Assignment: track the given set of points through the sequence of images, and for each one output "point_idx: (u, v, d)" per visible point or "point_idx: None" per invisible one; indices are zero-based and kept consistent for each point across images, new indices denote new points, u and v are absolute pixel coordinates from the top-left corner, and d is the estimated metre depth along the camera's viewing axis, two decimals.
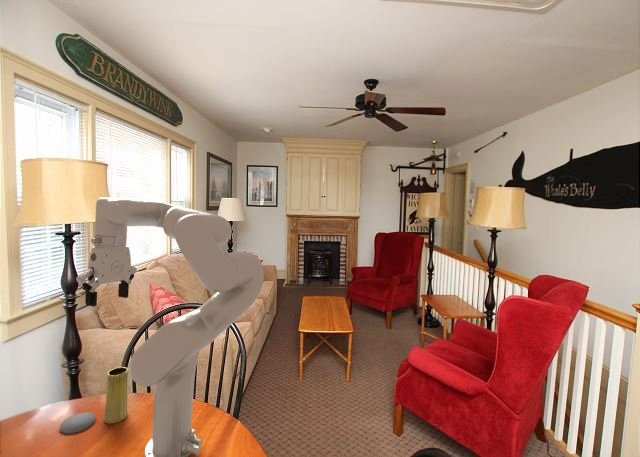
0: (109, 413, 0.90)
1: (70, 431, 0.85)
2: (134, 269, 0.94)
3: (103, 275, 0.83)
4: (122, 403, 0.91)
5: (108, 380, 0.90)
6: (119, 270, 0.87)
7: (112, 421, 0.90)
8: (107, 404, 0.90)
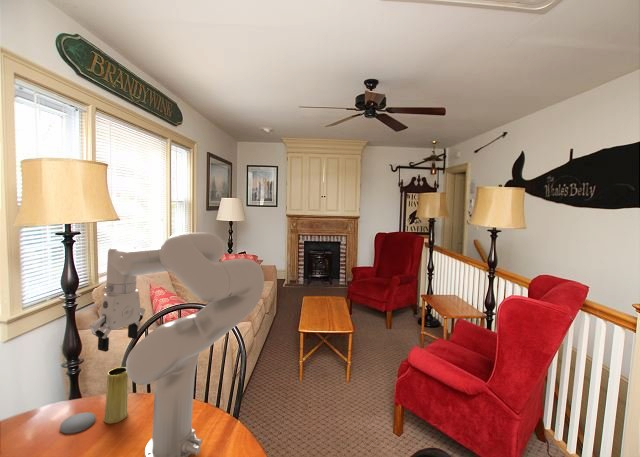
0: (109, 413, 0.90)
1: (70, 431, 0.85)
2: (143, 310, 0.99)
3: (115, 322, 0.87)
4: (122, 403, 0.91)
5: (108, 380, 0.90)
6: (129, 314, 0.91)
7: (112, 421, 0.90)
8: (107, 404, 0.90)
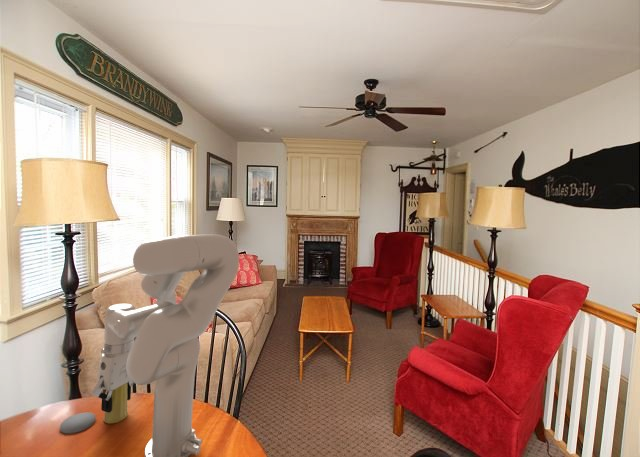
0: (109, 413, 0.90)
1: (70, 431, 0.85)
2: None
3: (112, 382, 0.88)
4: (122, 403, 0.91)
5: None
6: (126, 373, 0.92)
7: (112, 421, 0.90)
8: None
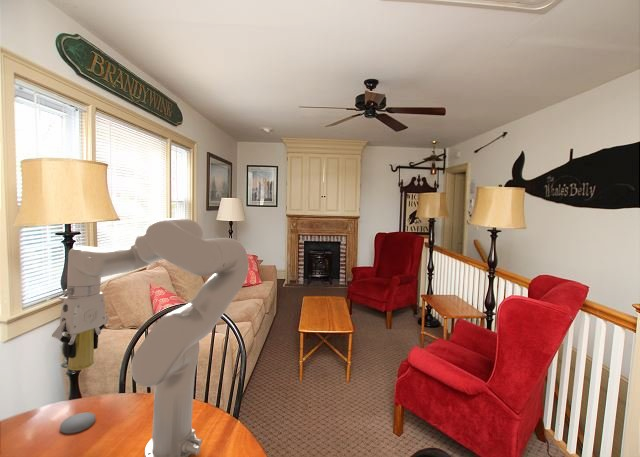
0: (73, 359, 0.85)
1: (70, 431, 0.85)
2: (106, 319, 0.94)
3: (75, 326, 0.83)
4: (88, 350, 0.87)
5: None
6: (92, 318, 0.87)
7: (76, 368, 0.85)
8: None
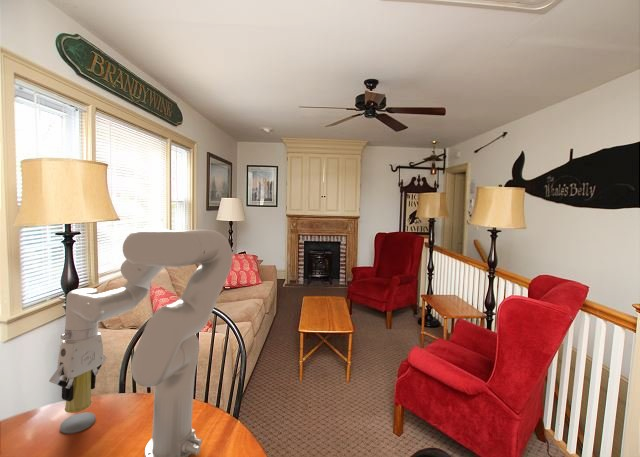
0: (70, 402, 0.86)
1: (70, 431, 0.85)
2: (104, 358, 0.94)
3: (73, 370, 0.84)
4: (85, 392, 0.87)
5: None
6: (90, 360, 0.88)
7: (73, 410, 0.86)
8: None
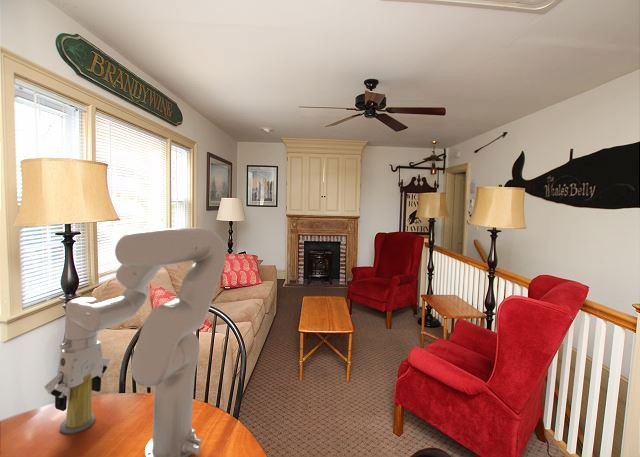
0: (71, 417, 0.86)
1: (70, 431, 0.85)
2: (107, 360, 0.95)
3: (73, 379, 0.84)
4: (85, 407, 0.88)
5: None
6: (89, 369, 0.88)
7: (74, 425, 0.86)
8: (69, 408, 0.86)
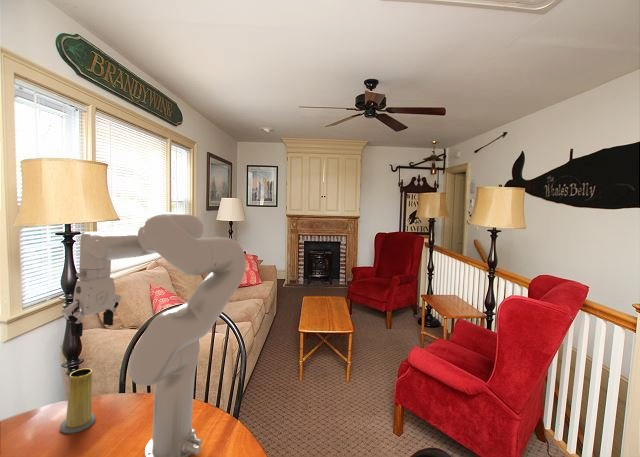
0: (71, 417, 0.86)
1: (70, 431, 0.85)
2: (118, 297, 0.99)
3: (88, 307, 0.87)
4: (86, 406, 0.88)
5: (70, 382, 0.86)
6: (103, 300, 0.91)
7: (74, 425, 0.86)
8: (69, 407, 0.86)
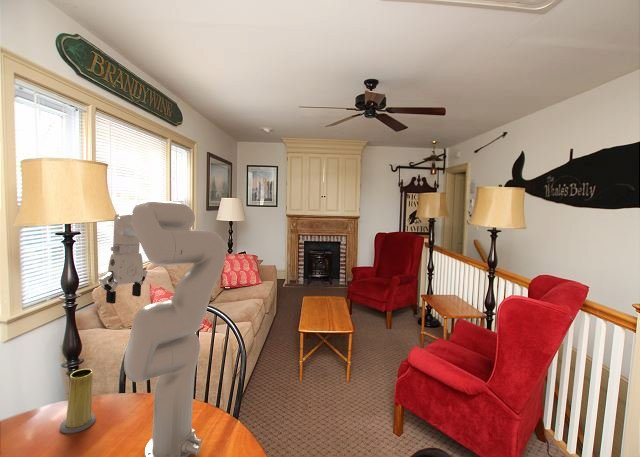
0: (71, 417, 0.86)
1: (70, 431, 0.85)
2: (145, 272, 1.11)
3: (121, 277, 0.99)
4: (86, 407, 0.88)
5: (70, 382, 0.86)
6: (133, 273, 1.03)
7: (74, 425, 0.86)
8: (69, 407, 0.86)
